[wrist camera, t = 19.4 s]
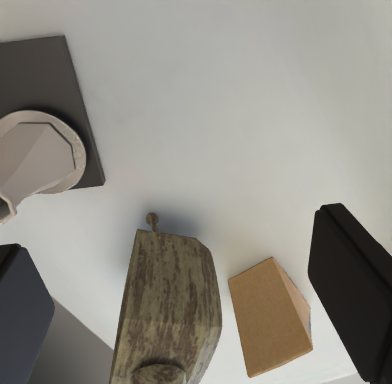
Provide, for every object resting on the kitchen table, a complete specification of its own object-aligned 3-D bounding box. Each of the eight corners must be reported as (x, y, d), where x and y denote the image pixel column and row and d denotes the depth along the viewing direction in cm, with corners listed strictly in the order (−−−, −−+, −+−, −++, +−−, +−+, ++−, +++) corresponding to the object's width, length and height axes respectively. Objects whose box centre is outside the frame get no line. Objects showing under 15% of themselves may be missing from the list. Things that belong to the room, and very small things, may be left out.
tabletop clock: (141, 201, 39) (110, 425, 18) (208, 212, 41) (252, 429, 20) (125, 279, 46) (88, 510, 25) (182, 286, 48) (195, 507, 27)
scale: (-101, 52, 29) (-127, 56, 26) (64, 33, 29) (54, 35, 27) (-22, 195, 37) (-36, 209, 35) (105, 180, 38) (101, 192, 35)
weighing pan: (-26, 115, 30) (-28, 116, 29) (71, 104, 30) (70, 105, 29) (13, 196, 34) (12, 198, 34) (96, 186, 35) (95, 188, 34)
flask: (-14, 133, 30) (-87, 181, 22) (53, 111, 30) (6, 152, 21) (26, 192, 34) (-22, 254, 25) (87, 174, 33) (59, 231, 25)
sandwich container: (268, 328, 55) (299, 423, 42) (225, 281, 48) (246, 378, 35) (312, 307, 53) (357, 401, 40) (273, 255, 46) (314, 349, 33)
